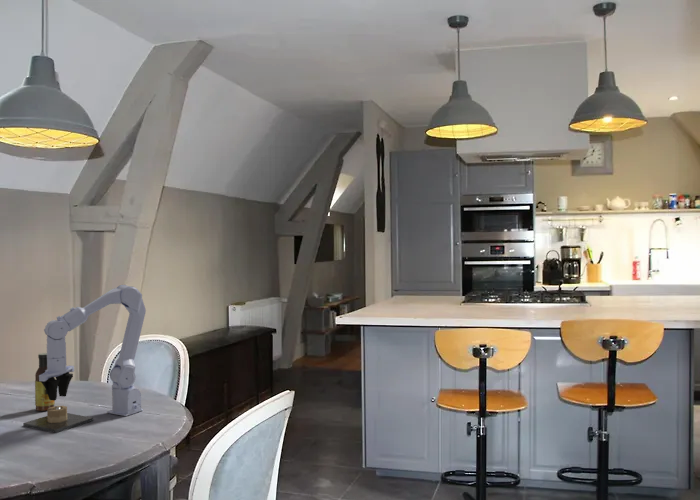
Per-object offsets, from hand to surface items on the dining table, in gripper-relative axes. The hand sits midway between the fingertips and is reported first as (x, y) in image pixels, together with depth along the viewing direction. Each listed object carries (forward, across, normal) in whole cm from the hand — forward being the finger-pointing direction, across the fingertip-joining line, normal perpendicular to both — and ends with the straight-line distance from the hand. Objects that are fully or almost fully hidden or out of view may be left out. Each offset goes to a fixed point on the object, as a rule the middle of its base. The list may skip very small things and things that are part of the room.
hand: (57, 398), depth 207 cm
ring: (+7, 0, 0) cm, 7 cm away
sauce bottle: (+9, -14, -16) cm, 23 cm away
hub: (+8, 0, 0) cm, 8 cm away
